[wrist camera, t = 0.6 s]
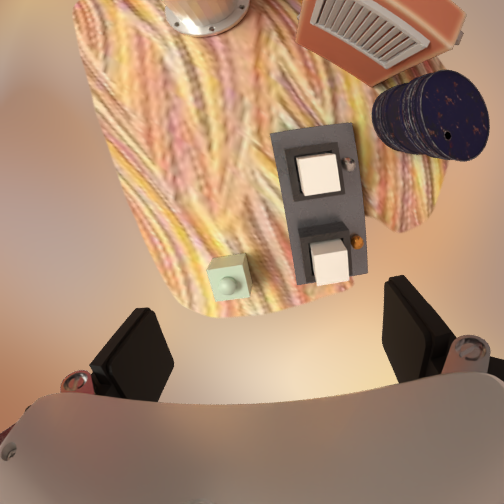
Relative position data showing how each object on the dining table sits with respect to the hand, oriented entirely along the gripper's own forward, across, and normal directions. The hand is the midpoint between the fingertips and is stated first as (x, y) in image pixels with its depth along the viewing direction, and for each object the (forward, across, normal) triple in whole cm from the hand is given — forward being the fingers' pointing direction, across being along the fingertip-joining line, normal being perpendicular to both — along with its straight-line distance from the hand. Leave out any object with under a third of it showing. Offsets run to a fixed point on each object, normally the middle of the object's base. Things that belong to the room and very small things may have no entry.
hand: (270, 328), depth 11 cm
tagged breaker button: (+27, -5, +7) cm, 28 cm away
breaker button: (+26, -5, -4) cm, 27 cm away
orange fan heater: (+30, -13, -20) cm, 39 cm away
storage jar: (+31, -20, -10) cm, 38 cm away
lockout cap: (+32, +8, +10) cm, 34 cm away
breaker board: (+31, -6, +2) cm, 32 cm away
